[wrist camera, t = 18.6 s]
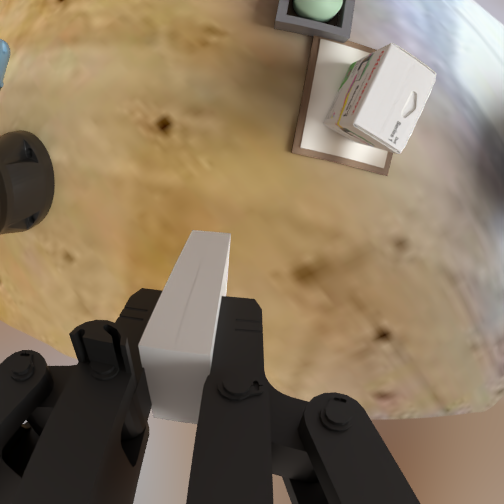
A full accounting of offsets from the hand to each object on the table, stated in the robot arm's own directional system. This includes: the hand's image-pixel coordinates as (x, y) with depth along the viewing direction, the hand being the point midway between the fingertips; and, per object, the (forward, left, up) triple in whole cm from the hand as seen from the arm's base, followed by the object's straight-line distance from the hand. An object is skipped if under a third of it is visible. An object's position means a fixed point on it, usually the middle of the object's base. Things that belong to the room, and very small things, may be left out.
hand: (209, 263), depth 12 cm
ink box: (+11, +10, -24) cm, 28 cm away
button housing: (+5, +21, -24) cm, 33 cm away
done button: (+5, +21, -23) cm, 32 cm away
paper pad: (+11, +10, -24) cm, 29 cm away
